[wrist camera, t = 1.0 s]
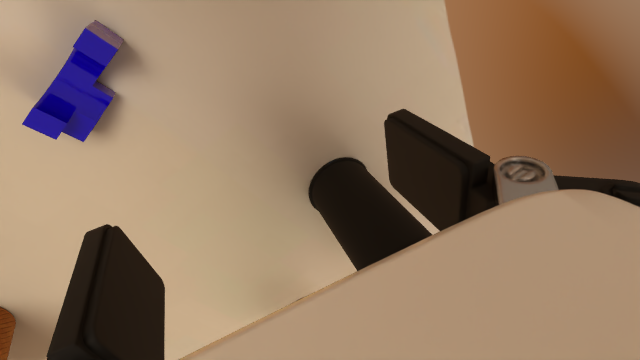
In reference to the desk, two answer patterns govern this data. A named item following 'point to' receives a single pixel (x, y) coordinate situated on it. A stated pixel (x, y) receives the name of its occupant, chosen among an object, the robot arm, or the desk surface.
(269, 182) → the desk surface
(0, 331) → the disposable coffee cup
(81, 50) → the cable holder
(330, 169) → the aerosol can
